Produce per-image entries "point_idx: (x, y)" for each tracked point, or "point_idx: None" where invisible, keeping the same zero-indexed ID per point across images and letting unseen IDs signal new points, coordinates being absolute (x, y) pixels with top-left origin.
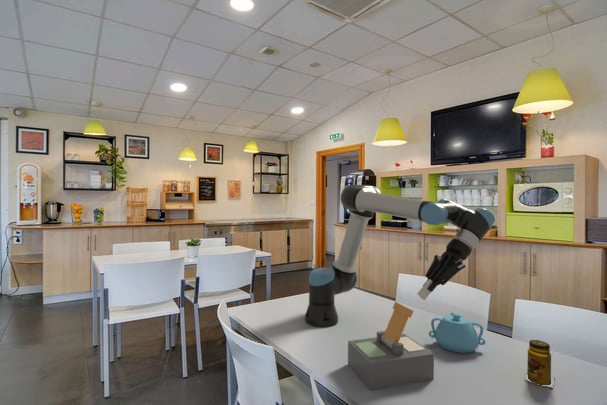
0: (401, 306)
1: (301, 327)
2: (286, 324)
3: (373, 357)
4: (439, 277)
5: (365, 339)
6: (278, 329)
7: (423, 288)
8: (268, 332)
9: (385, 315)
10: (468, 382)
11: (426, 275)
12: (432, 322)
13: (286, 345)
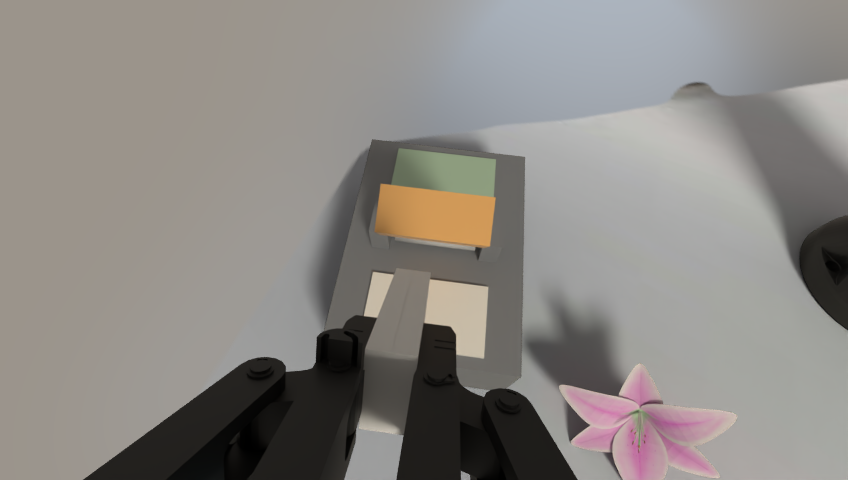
0: (426, 190)
1: (796, 196)
2: (824, 166)
3: (396, 160)
4: (264, 388)
5: (518, 206)
6: (778, 135)
7: (402, 293)
8: (754, 108)
9: (728, 416)
10: None
11: (502, 393)
12: None
13: (658, 119)
